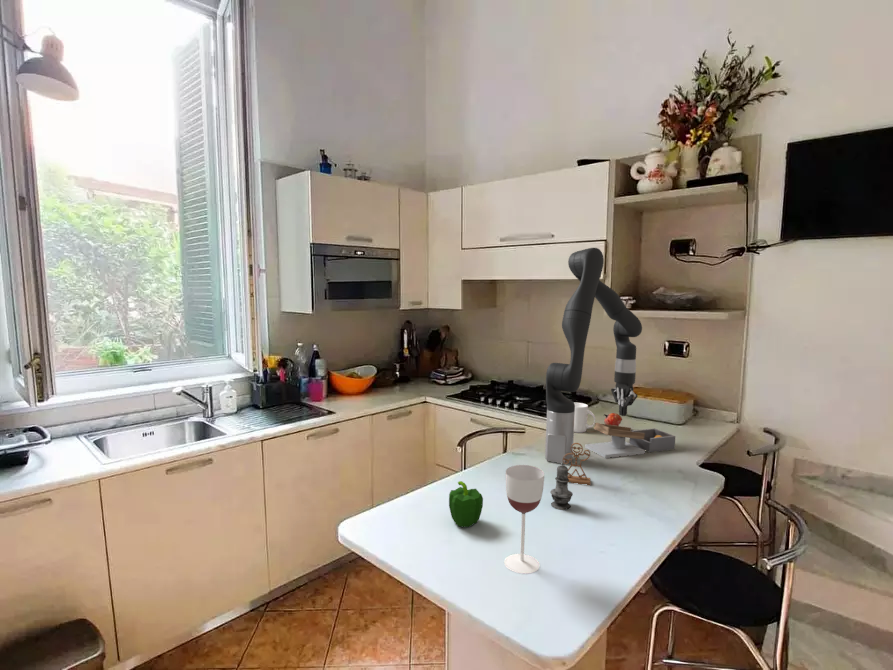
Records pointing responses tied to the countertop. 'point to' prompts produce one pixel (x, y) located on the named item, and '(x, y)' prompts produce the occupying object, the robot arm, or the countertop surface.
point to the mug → (582, 418)
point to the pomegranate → (612, 419)
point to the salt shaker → (561, 490)
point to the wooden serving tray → (618, 431)
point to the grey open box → (654, 440)
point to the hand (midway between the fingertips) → (622, 415)
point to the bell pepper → (465, 505)
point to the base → (614, 448)
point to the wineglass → (523, 509)
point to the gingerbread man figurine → (579, 478)
